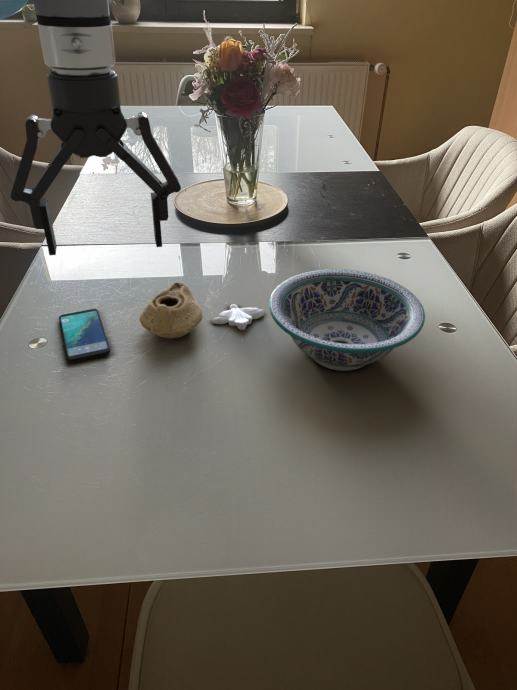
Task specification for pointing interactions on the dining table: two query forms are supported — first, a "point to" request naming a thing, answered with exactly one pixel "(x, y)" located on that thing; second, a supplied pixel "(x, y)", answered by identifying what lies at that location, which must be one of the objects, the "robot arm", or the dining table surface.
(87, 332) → the smartphone
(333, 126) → the dining table surface
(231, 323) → the acanthus leaf ornament
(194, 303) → the oil lamp
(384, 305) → the bowl
